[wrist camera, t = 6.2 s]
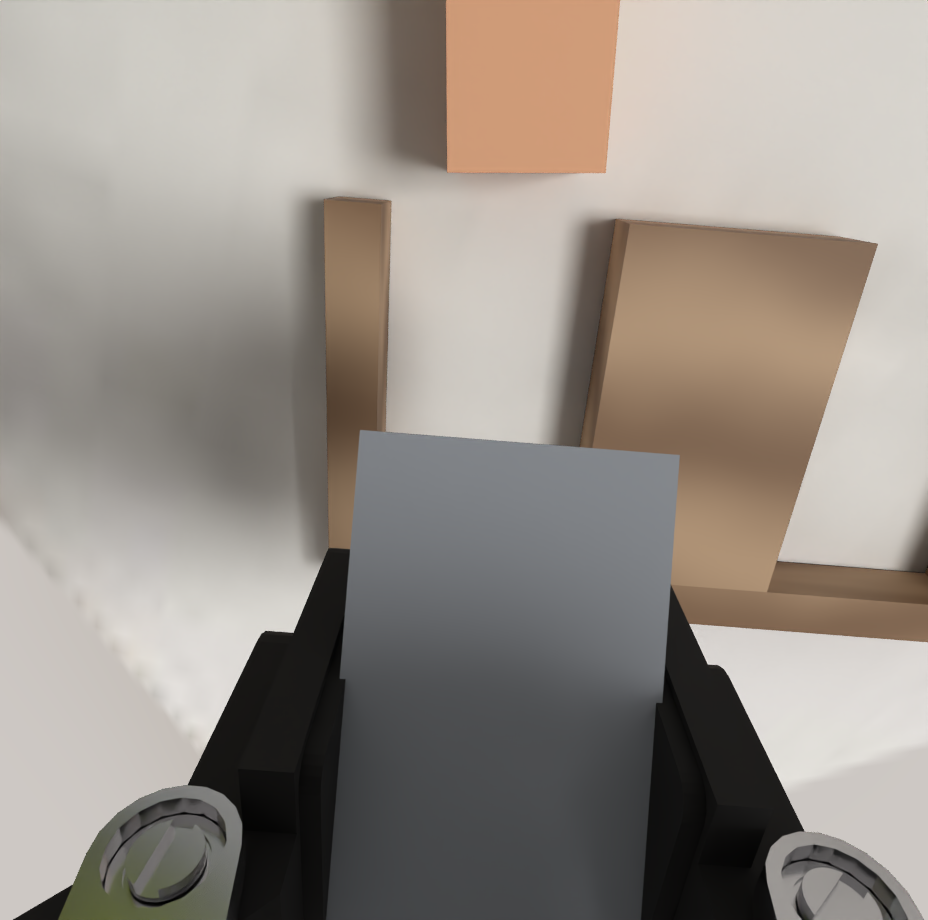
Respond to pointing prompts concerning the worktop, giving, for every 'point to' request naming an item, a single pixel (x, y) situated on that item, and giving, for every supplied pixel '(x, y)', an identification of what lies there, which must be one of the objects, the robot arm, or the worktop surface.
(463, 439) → the grey stub
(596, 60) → the terracotta stub
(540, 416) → the worktop surface
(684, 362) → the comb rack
